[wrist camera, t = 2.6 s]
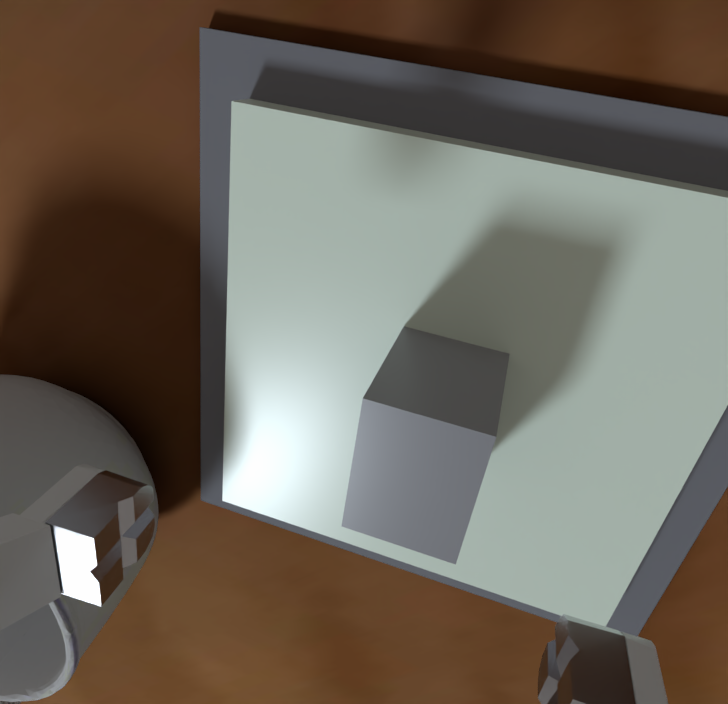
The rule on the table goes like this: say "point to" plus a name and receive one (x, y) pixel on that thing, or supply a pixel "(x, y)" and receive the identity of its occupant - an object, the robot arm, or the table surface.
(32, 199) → the table surface
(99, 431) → the teacup
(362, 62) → the mat
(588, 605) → the lid
